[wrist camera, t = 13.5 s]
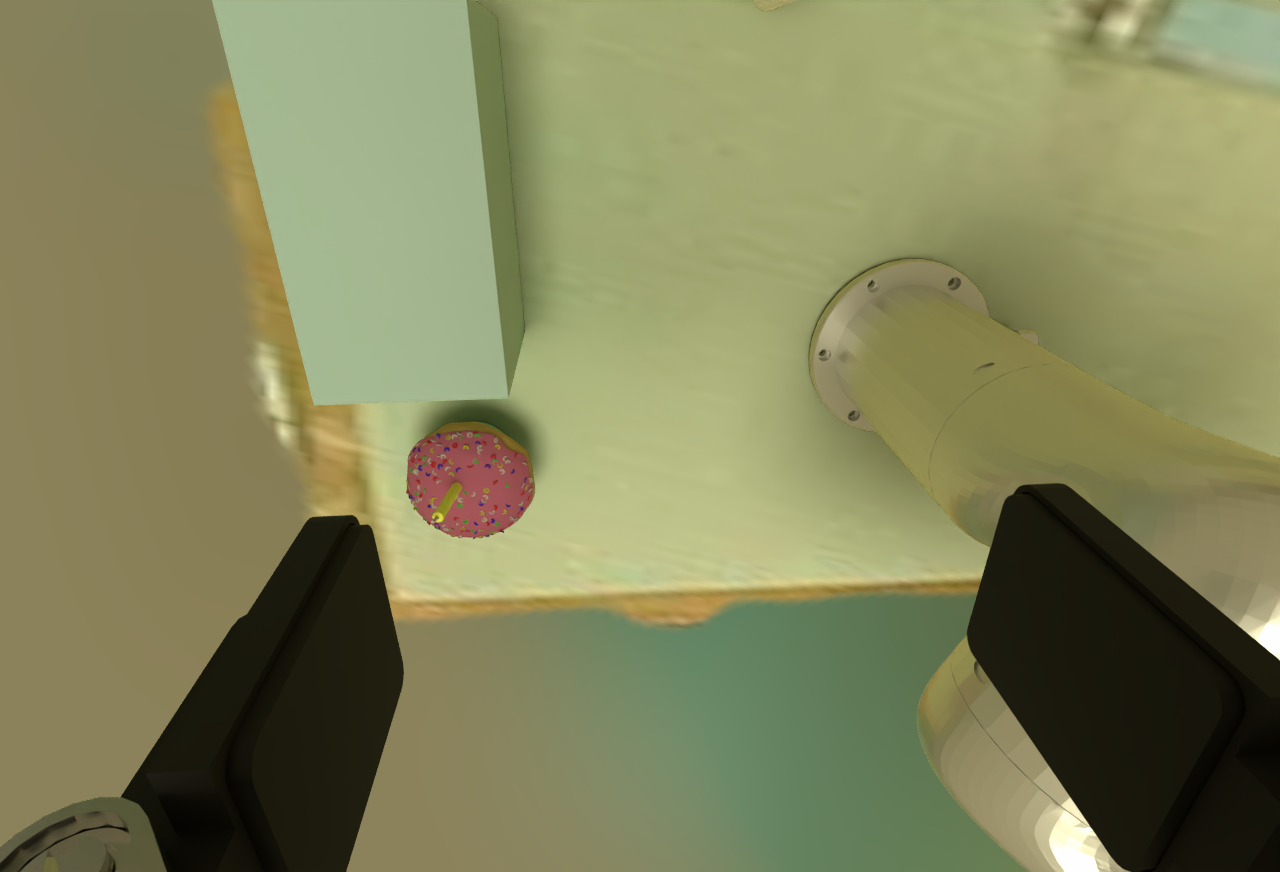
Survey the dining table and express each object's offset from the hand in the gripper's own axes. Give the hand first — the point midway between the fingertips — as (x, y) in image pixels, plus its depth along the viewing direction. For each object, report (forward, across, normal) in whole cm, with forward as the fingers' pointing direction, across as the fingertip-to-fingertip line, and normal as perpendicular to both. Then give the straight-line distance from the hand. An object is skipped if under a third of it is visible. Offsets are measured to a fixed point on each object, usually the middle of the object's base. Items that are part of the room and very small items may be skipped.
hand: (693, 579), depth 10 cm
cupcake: (+36, +10, +17) cm, 41 cm away
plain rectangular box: (+36, +11, -1) cm, 38 cm away
